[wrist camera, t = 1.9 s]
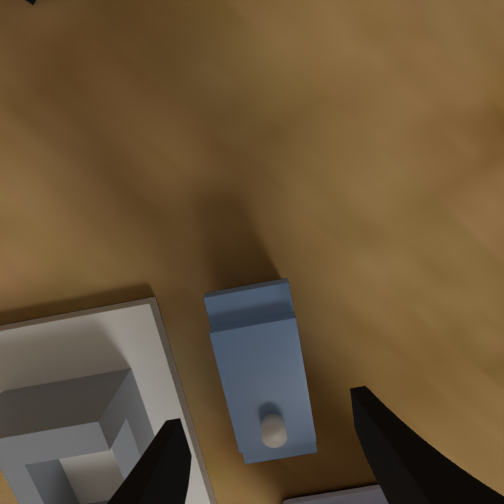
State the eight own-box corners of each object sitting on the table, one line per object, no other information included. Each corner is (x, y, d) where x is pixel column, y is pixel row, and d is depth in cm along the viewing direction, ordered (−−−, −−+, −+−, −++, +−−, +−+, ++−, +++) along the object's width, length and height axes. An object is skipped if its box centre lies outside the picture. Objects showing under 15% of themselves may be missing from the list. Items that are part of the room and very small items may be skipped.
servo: (278, 257, 17) (293, 294, 11) (301, 392, 19) (324, 478, 14) (214, 269, 17) (198, 311, 11) (245, 402, 19) (244, 491, 14)
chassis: (155, 296, 17) (119, 341, 12) (222, 525, 22) (216, 621, 17) (-44, 333, 18) (-154, 390, 13) (65, 550, 22) (16, 651, 18)
